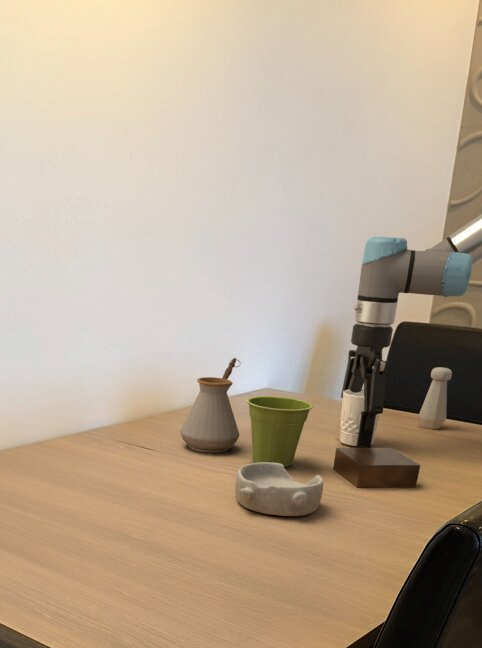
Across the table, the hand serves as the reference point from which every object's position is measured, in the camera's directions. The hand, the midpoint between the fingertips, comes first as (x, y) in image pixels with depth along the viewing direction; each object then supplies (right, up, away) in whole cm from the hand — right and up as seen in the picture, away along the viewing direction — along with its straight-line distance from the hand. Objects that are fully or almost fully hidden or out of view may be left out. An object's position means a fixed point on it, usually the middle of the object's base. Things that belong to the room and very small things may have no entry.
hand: (355, 441), depth 169 cm
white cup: (0, 0, 0) cm, 0 cm away
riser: (-2, -11, -21) cm, 24 cm away
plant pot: (-19, -7, -16) cm, 26 cm away
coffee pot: (-29, -1, -4) cm, 29 cm away
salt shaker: (+22, +7, +18) cm, 29 cm away
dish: (-22, -18, -38) cm, 47 cm away
